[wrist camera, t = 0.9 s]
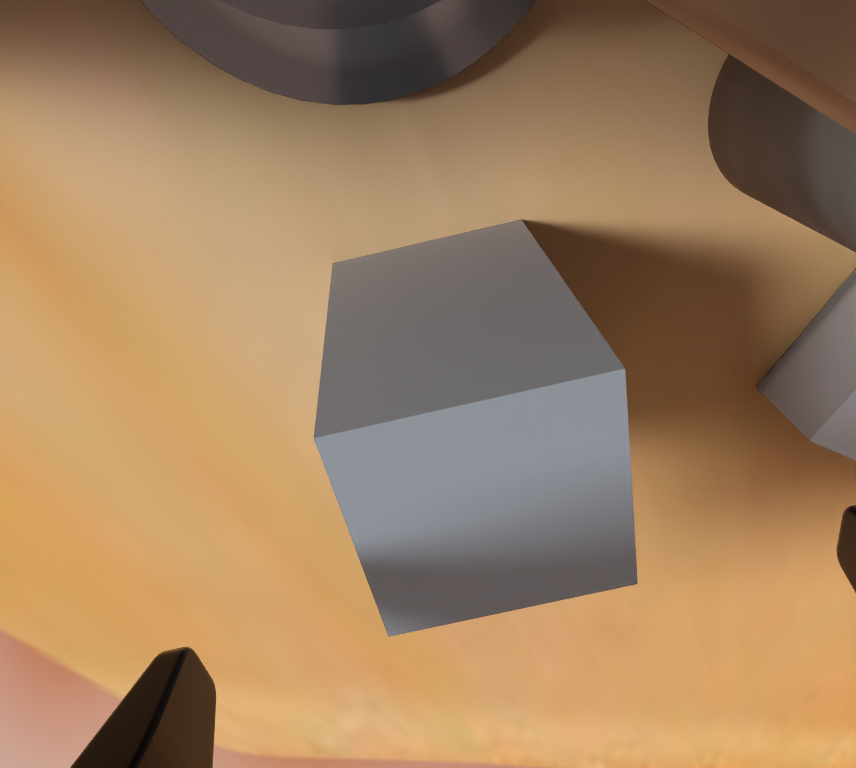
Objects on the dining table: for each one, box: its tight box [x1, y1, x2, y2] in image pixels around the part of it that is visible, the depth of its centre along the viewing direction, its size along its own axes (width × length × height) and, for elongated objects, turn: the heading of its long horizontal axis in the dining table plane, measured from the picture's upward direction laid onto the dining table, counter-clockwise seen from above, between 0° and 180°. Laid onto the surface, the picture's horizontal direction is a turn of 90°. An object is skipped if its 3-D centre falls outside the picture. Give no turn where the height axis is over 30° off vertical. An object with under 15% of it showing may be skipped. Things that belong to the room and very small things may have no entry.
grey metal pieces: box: [140, 0, 535, 105], centre depth 12 cm, size 20×14×6 cm
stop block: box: [314, 220, 638, 637], centre depth 13 cm, size 4×4×7 cm
